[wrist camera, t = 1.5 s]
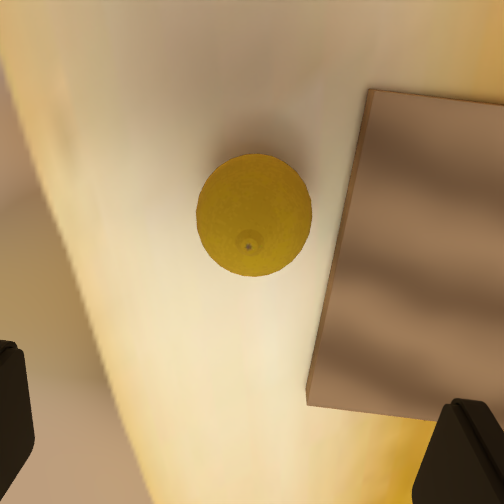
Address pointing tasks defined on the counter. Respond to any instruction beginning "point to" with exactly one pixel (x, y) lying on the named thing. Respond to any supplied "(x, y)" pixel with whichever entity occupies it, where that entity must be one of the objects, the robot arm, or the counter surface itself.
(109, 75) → the counter surface
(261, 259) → the lemon
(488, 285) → the serving board
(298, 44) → the counter surface
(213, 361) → the counter surface
